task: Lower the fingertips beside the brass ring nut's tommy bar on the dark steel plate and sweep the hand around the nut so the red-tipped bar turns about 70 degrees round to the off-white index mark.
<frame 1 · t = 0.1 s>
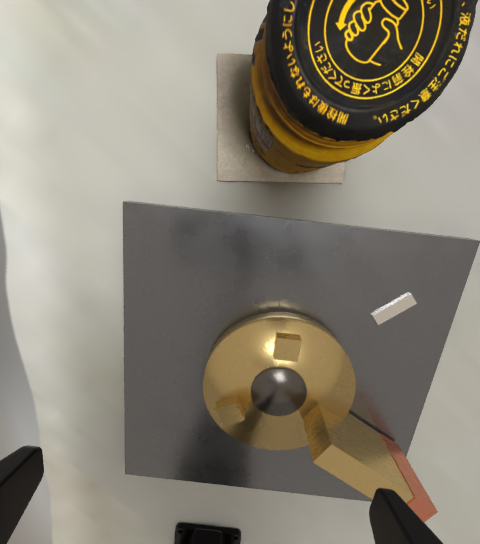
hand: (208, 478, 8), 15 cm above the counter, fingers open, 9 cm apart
ring nut: (316, 412, 20), point 4 cm above the counter, hinge at 0.0°
condiment: (282, 123, 19), on the counter
base plate: (275, 367, 23), on the counter
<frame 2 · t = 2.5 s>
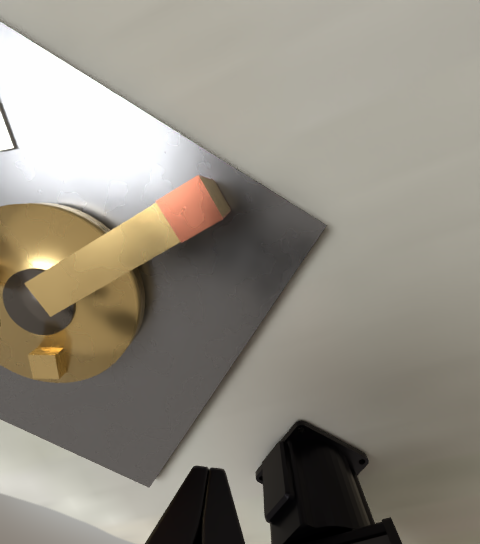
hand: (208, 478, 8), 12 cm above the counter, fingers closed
ring nut: (57, 273, 15), point 4 cm above the counter, hinge at 0.0°
base plate: (70, 286, 19), on the counter
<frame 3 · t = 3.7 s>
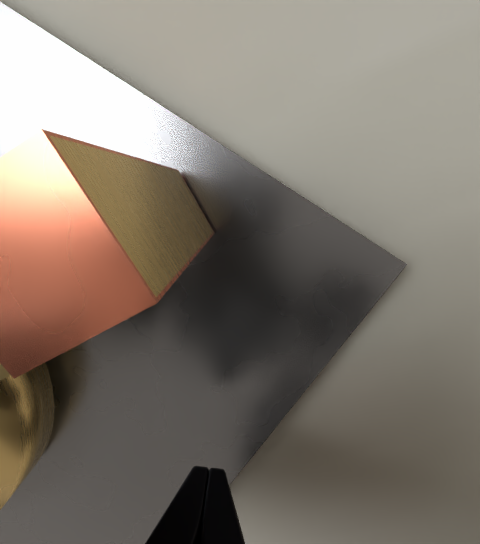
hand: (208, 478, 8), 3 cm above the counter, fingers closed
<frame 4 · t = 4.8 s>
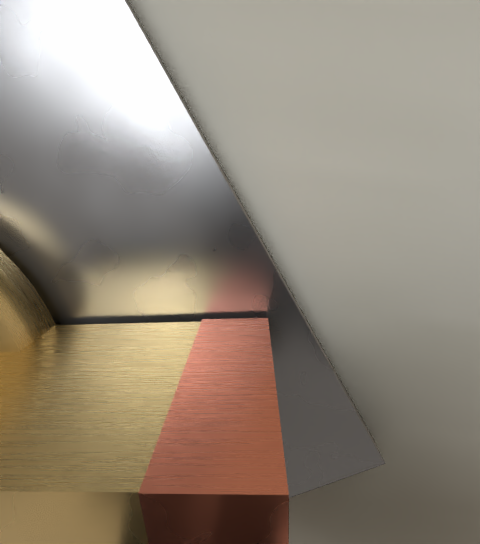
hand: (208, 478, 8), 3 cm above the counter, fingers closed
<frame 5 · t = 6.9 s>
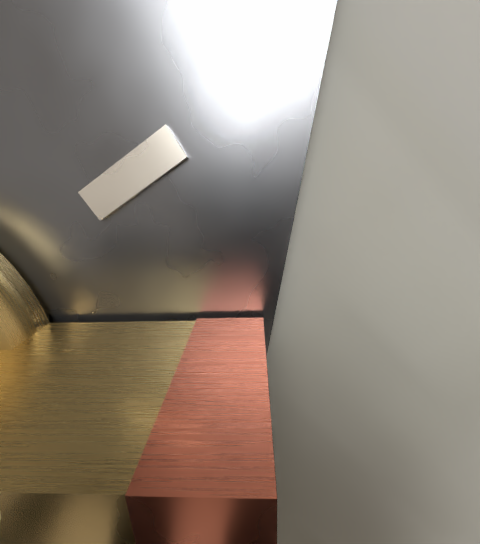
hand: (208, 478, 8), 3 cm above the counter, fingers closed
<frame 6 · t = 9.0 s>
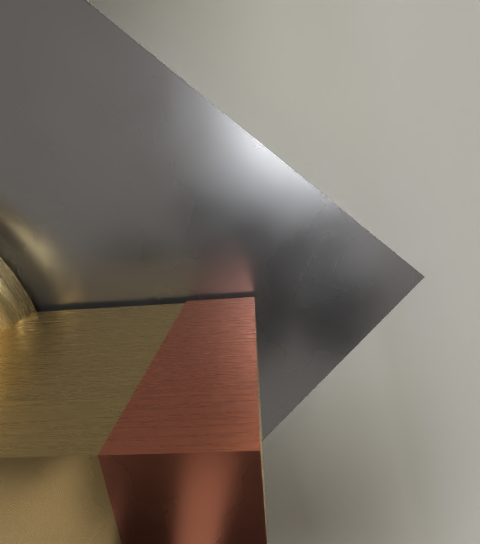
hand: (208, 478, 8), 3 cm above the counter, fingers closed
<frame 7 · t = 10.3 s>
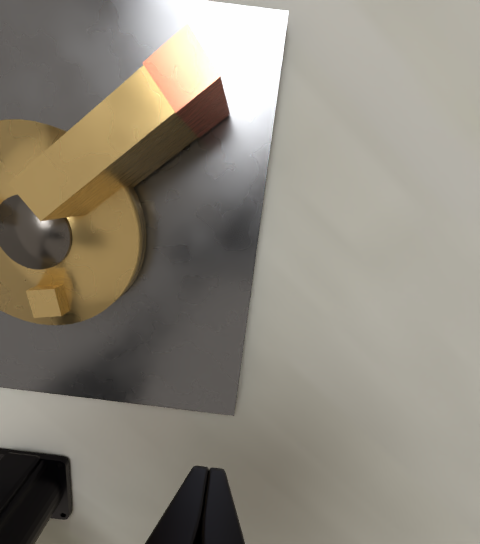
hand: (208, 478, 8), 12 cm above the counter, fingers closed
ring nut: (47, 191, 14), point 4 cm above the counter, hinge at 71.1°
base plate: (67, 226, 18), on the counter
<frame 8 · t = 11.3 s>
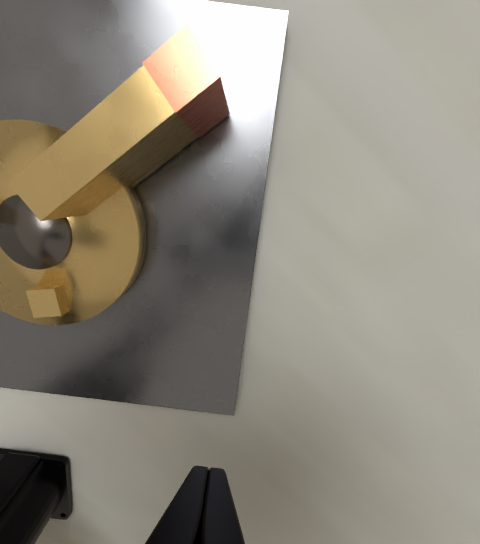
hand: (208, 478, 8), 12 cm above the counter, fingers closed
ring nut: (47, 191, 14), point 4 cm above the counter, hinge at 71.1°
base plate: (67, 226, 18), on the counter
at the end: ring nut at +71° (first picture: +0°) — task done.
